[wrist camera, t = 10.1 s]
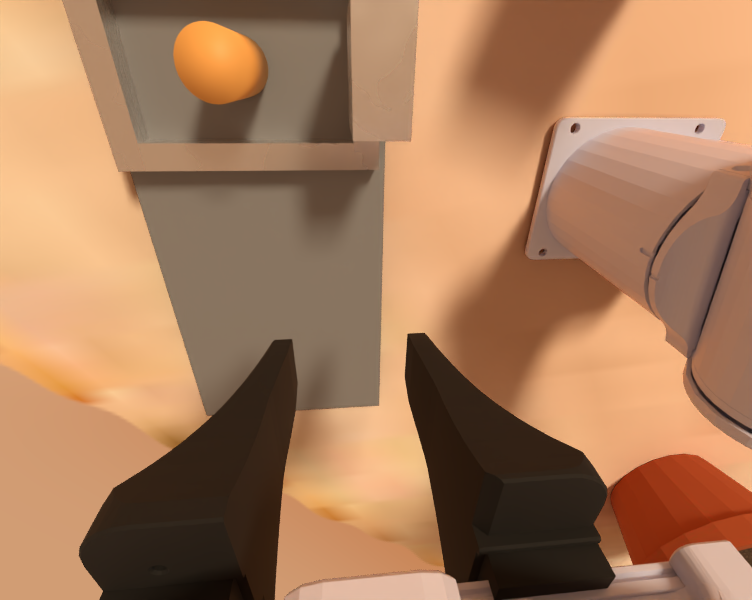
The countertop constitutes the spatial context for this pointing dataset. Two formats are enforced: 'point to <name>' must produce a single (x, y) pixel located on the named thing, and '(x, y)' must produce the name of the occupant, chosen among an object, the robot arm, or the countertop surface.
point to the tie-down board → (263, 205)
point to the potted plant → (680, 508)
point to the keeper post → (219, 63)
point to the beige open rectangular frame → (366, 120)
